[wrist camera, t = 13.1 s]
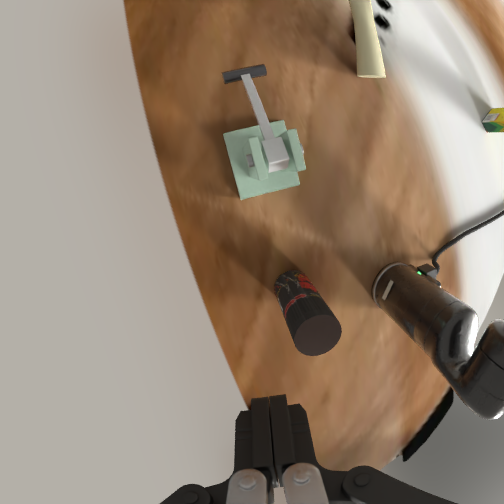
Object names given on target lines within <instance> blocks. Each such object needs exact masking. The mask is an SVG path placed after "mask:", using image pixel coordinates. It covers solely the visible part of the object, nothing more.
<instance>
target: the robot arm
mask: <svg viewBox="0 0 504 504" xmlns="http://www.w3.org/2000/svg"><path fill="white" fill-rule="evenodd" d="M503 215H504V210H503V211H502V212H500V213H499V214H497V215H496V216H494V217H492V218H490V219H488V220H487V221H485V222H483V223H481V224H479V225H477V226H475V227H473V228H471V229H469V230H467V231H465V232H463V233H462V234H460V235H459V236H457V237H456V238H455V239H453V240H452V241H450V242H449V243H447V244H446V245H444V246H443V247H442V248H441V249H440V250H439V251H438V252H437V253H436V254H435V255H434V257H433V259H432V264H433V265H434V267H435V268H434V267H432V266H430V265H429V264H424V265H422V266H419V267H417V268H416V267H414V266H413V265H411V264H410V265H406V264H404V263H401V262H395V263H391V264H389V265H387V266H386V267H384V268H383V269H382V270H381V271H380V272H379V274H378V275H377V277H376V279H375V281H374V283H373V287H372V296H373V300H374V302H375V303H376V304H377V305H378V306H379V307H380V308H381V309H383V310H384V311H385V312H386V313H387V314H388V315H389V316H390V317H391V318H392V319H393V320H394V321H395V322H396V323H397V324H398V325H399V326H400V327H401V328H402V329H403V330H404V331H405V332H406V333H407V334H408V335H409V336H410V337H411V338H412V339H413V340H414V341H415V343H417V344H418V346H419V347H420V348H421V349H422V350H423V351H424V352H425V353H426V354H427V355H428V356H429V357H430V358H431V361H432V363H433V364H434V366H435V367H436V368H437V370H438V371H439V372H440V373H441V374H442V376H443V377H444V378H445V379H446V380H447V382H448V383H449V384H450V386H451V387H452V388H453V390H454V391H455V392H456V394H457V395H458V396H459V398H460V399H461V400H462V401H463V403H465V405H466V406H467V407H468V408H469V409H470V410H471V411H472V412H474V413H475V414H476V415H478V416H479V417H482V418H484V419H488V420H493V419H497V418H499V417H500V416H501V415H502V414H503V413H504V319H496V320H493V321H492V322H491V323H490V324H489V326H488V327H487V328H486V330H485V332H484V334H483V335H482V337H481V339H480V341H479V343H478V344H477V346H476V348H475V350H474V347H475V340H476V336H477V330H478V317H477V314H476V312H475V311H474V310H473V309H472V308H471V307H470V306H468V305H467V304H465V303H464V302H462V301H461V300H459V299H458V298H456V297H455V296H453V295H452V294H450V293H449V292H447V291H446V290H444V289H443V288H441V283H440V282H439V281H437V280H436V275H437V274H438V272H439V269H440V267H439V264H438V263H437V262H436V261H437V259H438V257H439V255H440V254H441V253H442V252H443V251H445V250H446V249H447V248H449V247H450V246H452V245H453V244H455V243H456V242H458V241H459V240H460V239H462V238H463V237H465V236H467V235H468V234H470V233H472V232H474V231H476V230H478V229H480V228H482V227H484V226H485V225H487V224H489V223H491V222H493V221H495V220H496V219H498V218H499V217H501V216H503ZM269 400H270V404H269ZM235 427H236V429H235V431H236V432H235V459H234V471H233V474H232V475H231V476H230V478H229V479H227V480H226V481H224V482H223V483H220V484H217V485H213V486H209V487H205V488H204V487H202V486H200V485H197V484H188V485H184V486H182V487H180V488H179V489H178V490H177V491H175V492H174V493H173V494H172V495H170V496H169V497H168V498H167V499H165V500H164V501H163V502H161V503H160V504H274V490H273V488H275V487H279V485H278V479H279V483H280V487H284V492H285V497H286V502H287V504H457V503H454V502H451V501H448V500H445V499H443V498H440V497H437V496H435V495H432V494H430V493H427V492H424V491H422V490H420V489H417V488H415V487H413V486H410V485H408V484H406V483H404V482H401V481H399V480H397V479H395V478H393V477H390V476H389V475H387V474H384V473H382V472H381V471H379V470H377V469H375V468H373V467H370V466H358V467H355V468H352V469H351V470H349V471H331V470H327V469H325V468H323V467H322V466H320V465H319V463H318V462H317V460H316V457H315V452H314V447H313V442H312V437H311V433H310V428H309V423H308V418H307V414H306V411H305V410H304V409H303V407H302V406H301V405H300V404H294V405H288V406H287V399H286V394H283V395H276V396H269V399H268V397H262V398H253V399H251V410H248V411H241V412H240V414H239V415H238V417H237V419H236V426H235Z"/></svg>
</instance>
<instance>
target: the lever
mask: <svg viewBox="0 0 504 504" xmlns="http://www.w3.org/2000/svg"><path fill="white" fill-rule="evenodd" d="M266 75H267V71H266V67H265V65H264V64H261V65H256V66H250V67H245V68H240V69H235V70H231V71H226V72H222V78H223V81H224V84H228V83H232V82H237V81H241V80H242V83H243V85H244V88H245V91H246V93H247V96H248V99H249V101H250V104H251V107H252V109H253V112H254V115H255V117H256V120H257V123H258V126H259V129H260V131H261V134H262V137H263V140H264V141H261V151H262V154H263V158H264V161H265V164H266V167H267V170H268V172H269V173H270V172H274V171H278V170H282V169H287V168H288V164H289V156H288V153H287V150H286V147H285V145H284V142H283V140H282V137H277V138H275V137H274V134H273V131H272V129H271V126H270V123H269V121H268V118H267V116H266V113H265V111H264V108H263V105H262V103H261V100H260V98H259V95H258V93H257V91H256V88H255V86H254V83H253V81H252V78H256V77H261V76H266Z"/></svg>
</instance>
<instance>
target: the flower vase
mask: <svg viewBox="0 0 504 504" xmlns="http://www.w3.org/2000/svg"><path fill="white" fill-rule="evenodd" d="M349 3H350V7H351V12H352V16H353V21H354V28H355V38H356V58H357V76H358V77H367V78H386V75H385V69H384V64H383V59H382V54H381V49H380V45H379V40H378V36H377V32H376V28H375V24H374V18H373V12H372V6H371V0H349Z"/></svg>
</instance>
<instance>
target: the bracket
mask: <svg viewBox="0 0 504 504" xmlns="http://www.w3.org/2000/svg"><path fill="white" fill-rule="evenodd" d="M270 126H271V129H272V131H273V134H274V137H275V138H277V137H282V140H283V142H284V145H285V147H286V150H287V153H288V156H289V164H288V168H287V169H282V170H278V171H274V172H270V173H269V172H268V170H267V167H266V164H265V161H264V158H263V154H262V151H261V141H264V140H263V137H262V134H261V131H260V129H259V126H258V125H257V126H252V127H248V128H244V129H239V130H235V131H231V132H228V133H224V134H223V137H224V140H225V144H226V148H227V151H228V155H229V159H230V163H231V166H232V170H233V174H234V177H235V181H236V185H237V189H238V192H239V196H240V199H241V200H242V199H246V198H250V197H254V196H257V195H261V194H265V193H269V192H273V191H277V190H281V189H285V188H289V187H293V186H297V185H300V182H299V178H298V174H297V171H302V170H306V166H305V162H304V158H303V154H304V151H303V147H302V145H301V143H300V142H299V138H298V134H297V130H296V129H290V130H286V127H285V123H284V120H280V121H275V122H270Z"/></svg>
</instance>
